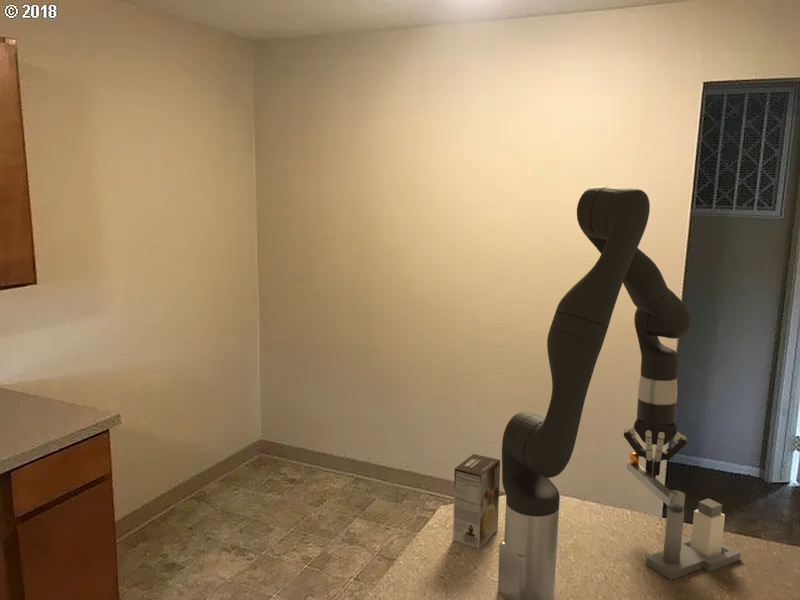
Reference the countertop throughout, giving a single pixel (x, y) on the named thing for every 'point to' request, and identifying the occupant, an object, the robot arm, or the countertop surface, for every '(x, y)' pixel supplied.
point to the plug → (708, 528)
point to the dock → (685, 552)
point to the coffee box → (476, 500)
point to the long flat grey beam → (656, 485)
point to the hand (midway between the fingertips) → (652, 476)
